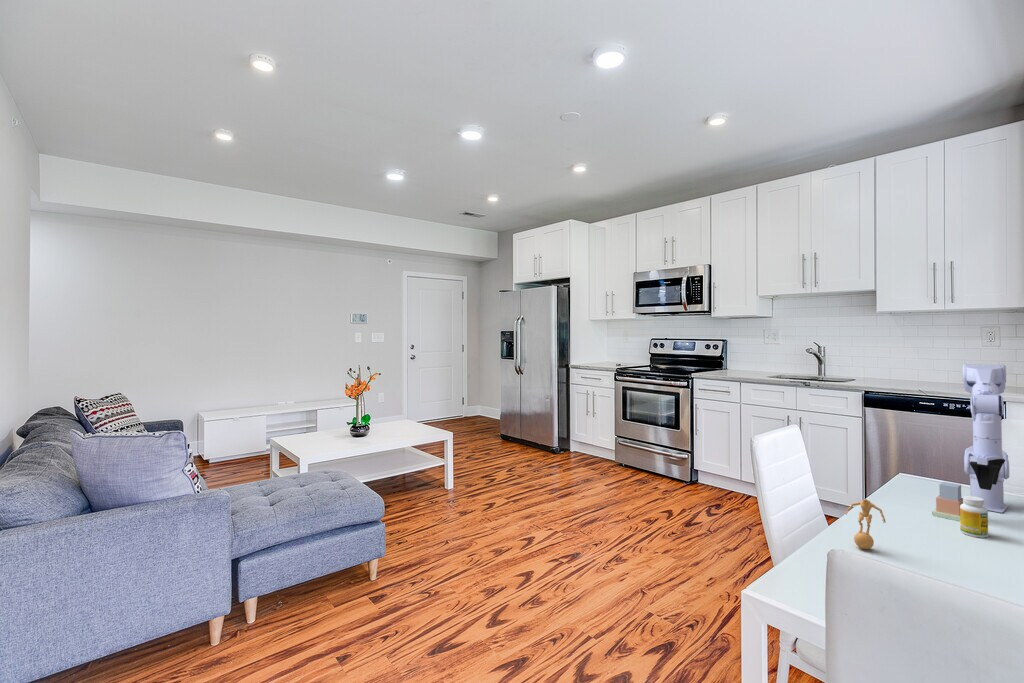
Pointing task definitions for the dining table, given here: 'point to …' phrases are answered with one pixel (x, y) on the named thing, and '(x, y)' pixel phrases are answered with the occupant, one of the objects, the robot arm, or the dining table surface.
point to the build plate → (945, 515)
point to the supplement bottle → (973, 517)
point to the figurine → (861, 537)
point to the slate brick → (950, 491)
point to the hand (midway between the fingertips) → (988, 486)
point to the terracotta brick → (948, 506)
